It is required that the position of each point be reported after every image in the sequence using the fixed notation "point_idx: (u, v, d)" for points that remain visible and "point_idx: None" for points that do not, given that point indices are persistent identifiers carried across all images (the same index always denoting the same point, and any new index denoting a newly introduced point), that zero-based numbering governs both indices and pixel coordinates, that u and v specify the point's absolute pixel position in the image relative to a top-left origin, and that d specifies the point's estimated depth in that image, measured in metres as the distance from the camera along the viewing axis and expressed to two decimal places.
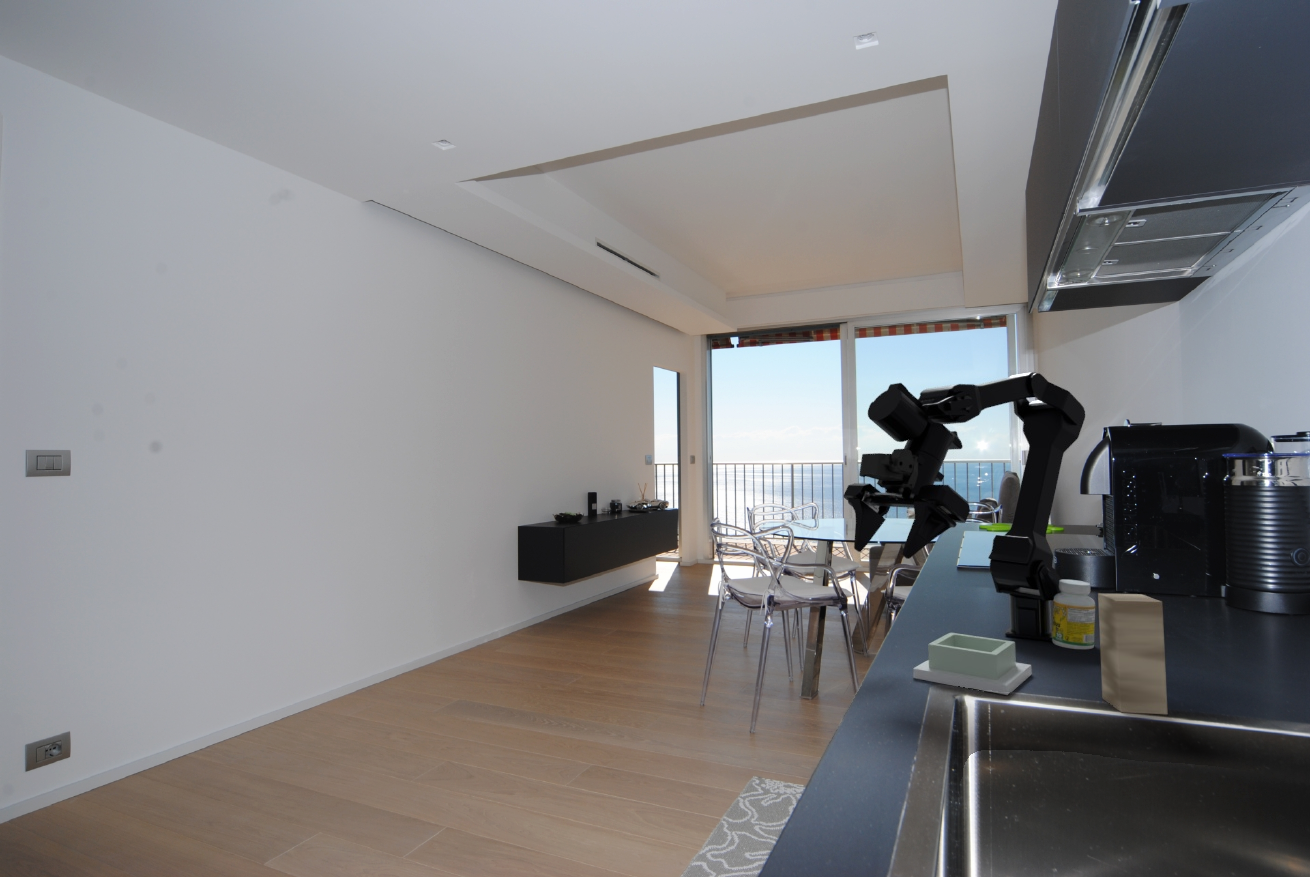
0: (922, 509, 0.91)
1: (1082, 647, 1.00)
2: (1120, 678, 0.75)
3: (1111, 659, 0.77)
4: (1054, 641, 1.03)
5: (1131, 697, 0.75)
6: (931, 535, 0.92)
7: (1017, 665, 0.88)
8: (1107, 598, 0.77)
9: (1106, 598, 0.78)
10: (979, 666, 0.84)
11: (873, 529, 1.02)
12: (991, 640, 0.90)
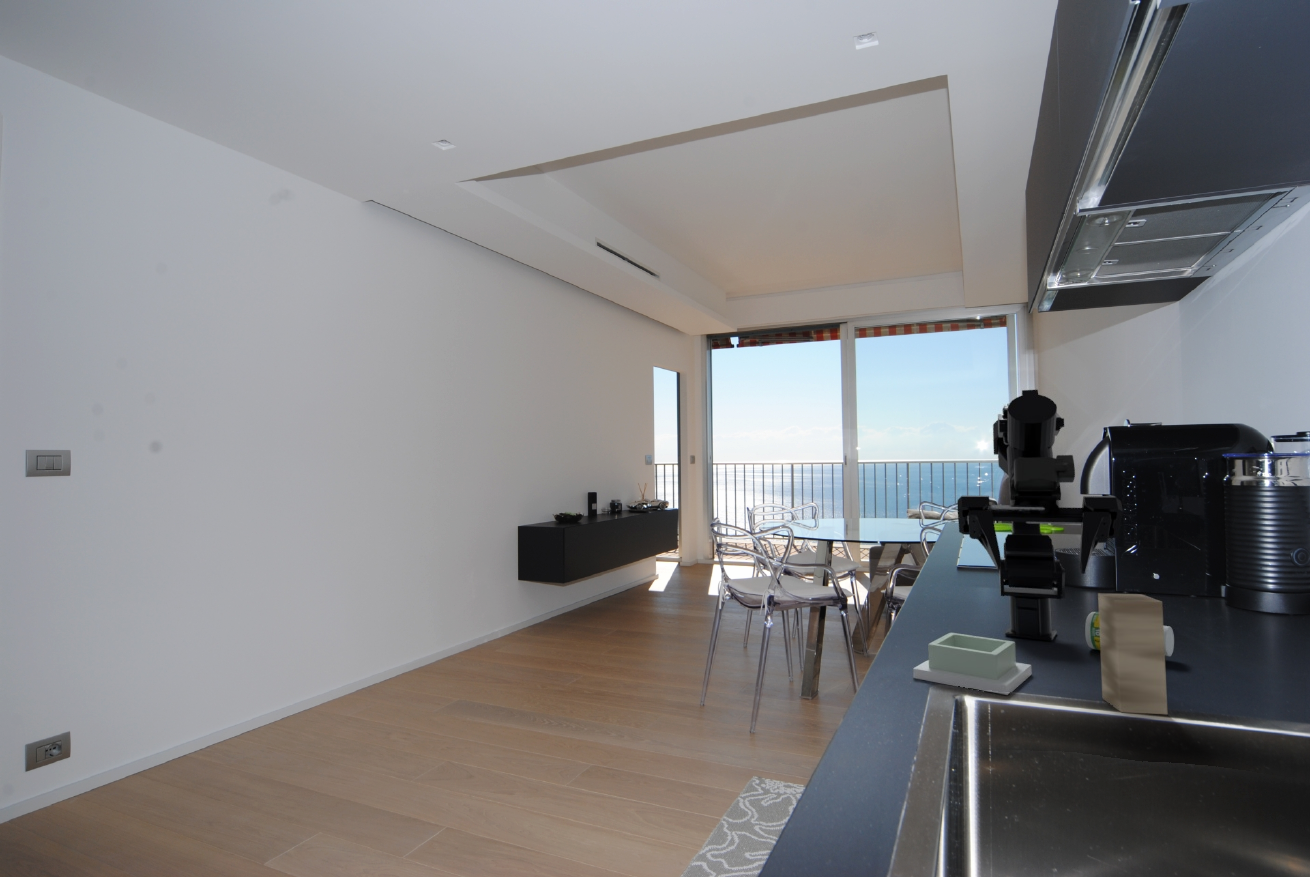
0: (1097, 520, 0.85)
1: (1093, 648, 1.00)
2: (1120, 678, 0.75)
3: (1111, 659, 0.77)
4: (1088, 624, 0.99)
5: (1131, 697, 0.75)
6: (1092, 549, 0.87)
7: (1017, 665, 0.88)
8: (1107, 598, 0.77)
9: (1106, 598, 0.78)
10: (979, 666, 0.84)
11: None
12: (991, 640, 0.90)
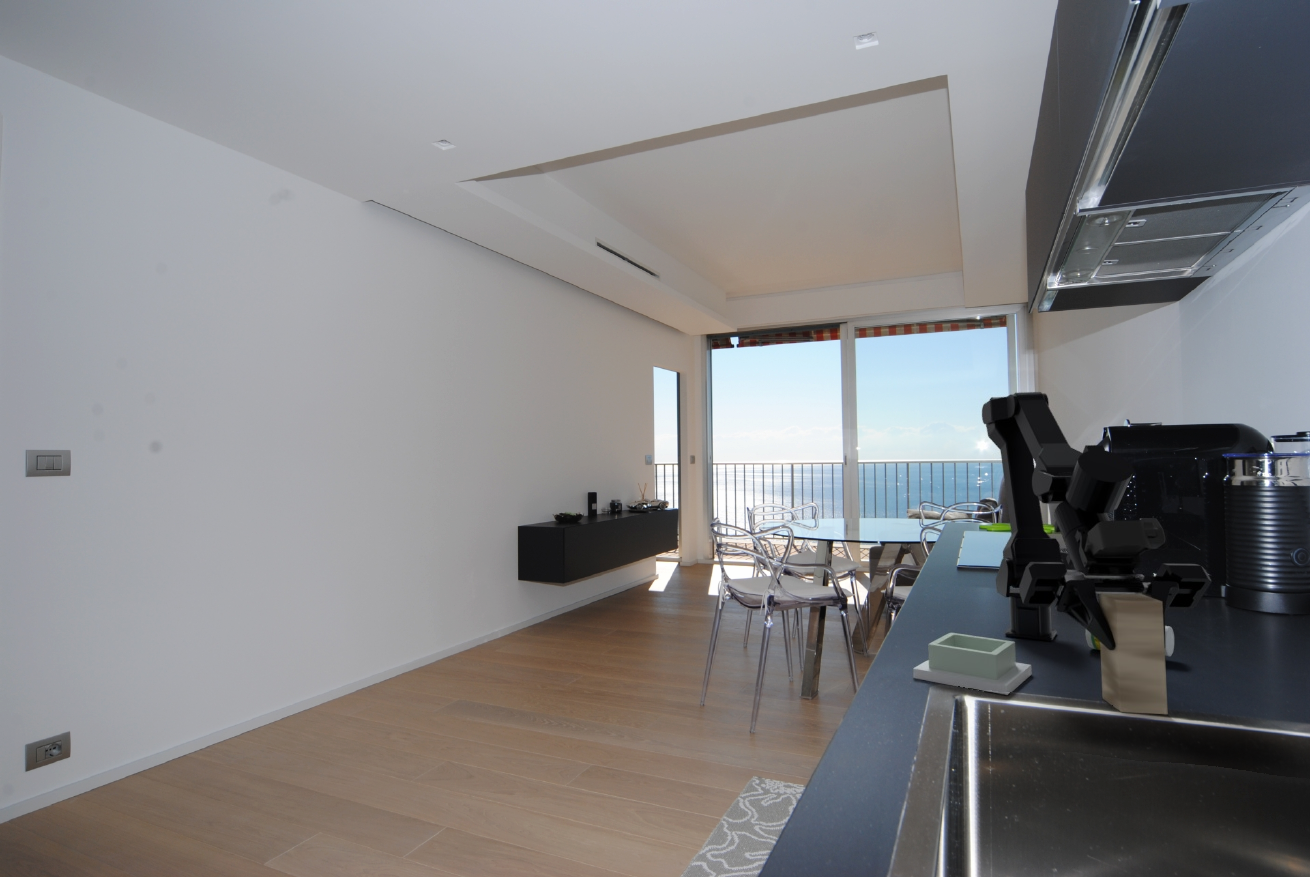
0: (1165, 591, 0.78)
1: (1093, 648, 1.00)
2: (1120, 677, 0.75)
3: (1111, 659, 0.77)
4: None
5: (1131, 697, 0.75)
6: None
7: (1017, 665, 0.88)
8: (1107, 598, 0.77)
9: (1106, 598, 0.78)
10: (979, 666, 0.84)
11: None
12: (991, 640, 0.90)
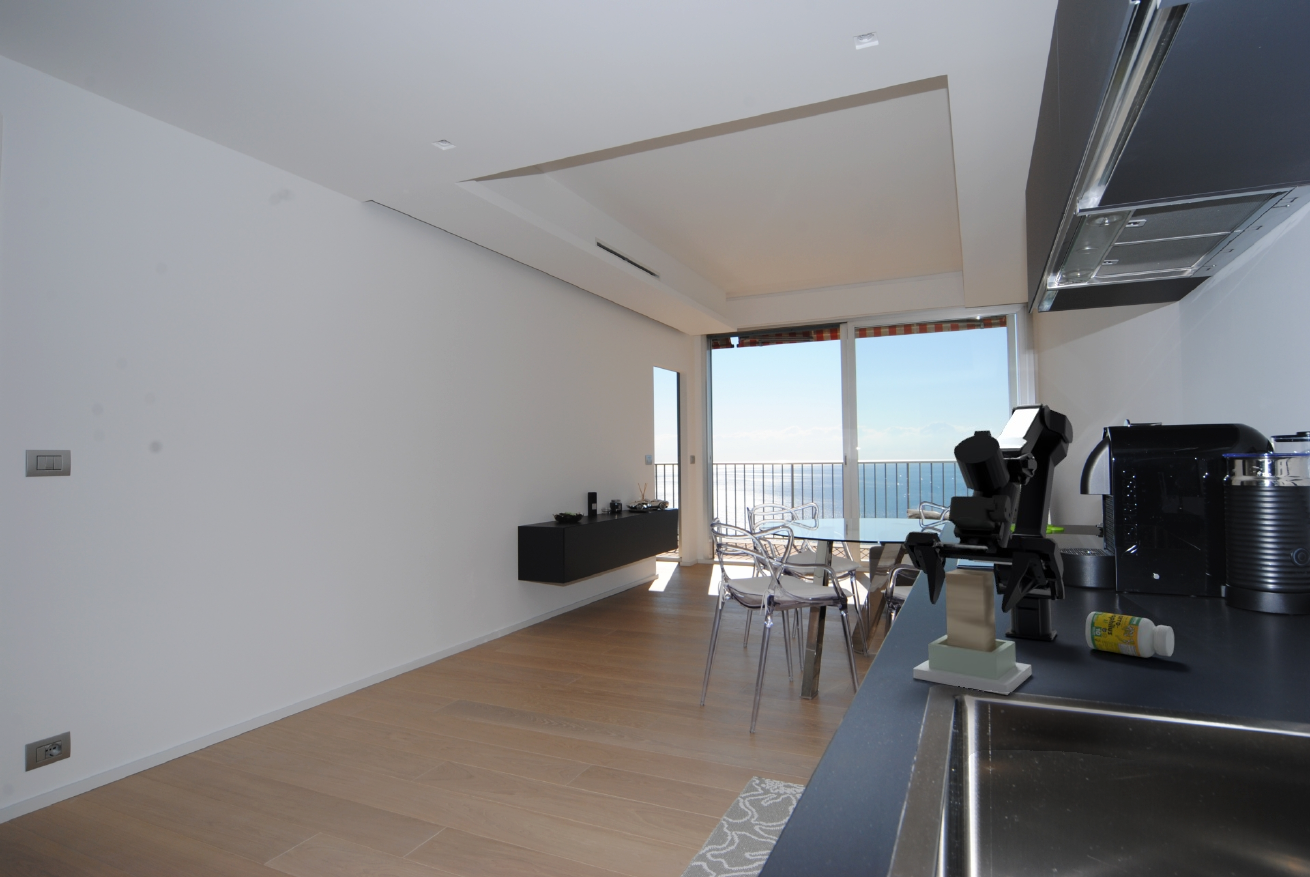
0: (1024, 561, 0.86)
1: (1093, 648, 1.00)
2: (947, 638, 0.88)
3: None
4: (1089, 623, 0.99)
5: None
6: (1024, 590, 0.87)
7: (1017, 665, 0.88)
8: (951, 572, 0.90)
9: (951, 572, 0.90)
10: (979, 666, 0.84)
11: (941, 582, 0.94)
12: None
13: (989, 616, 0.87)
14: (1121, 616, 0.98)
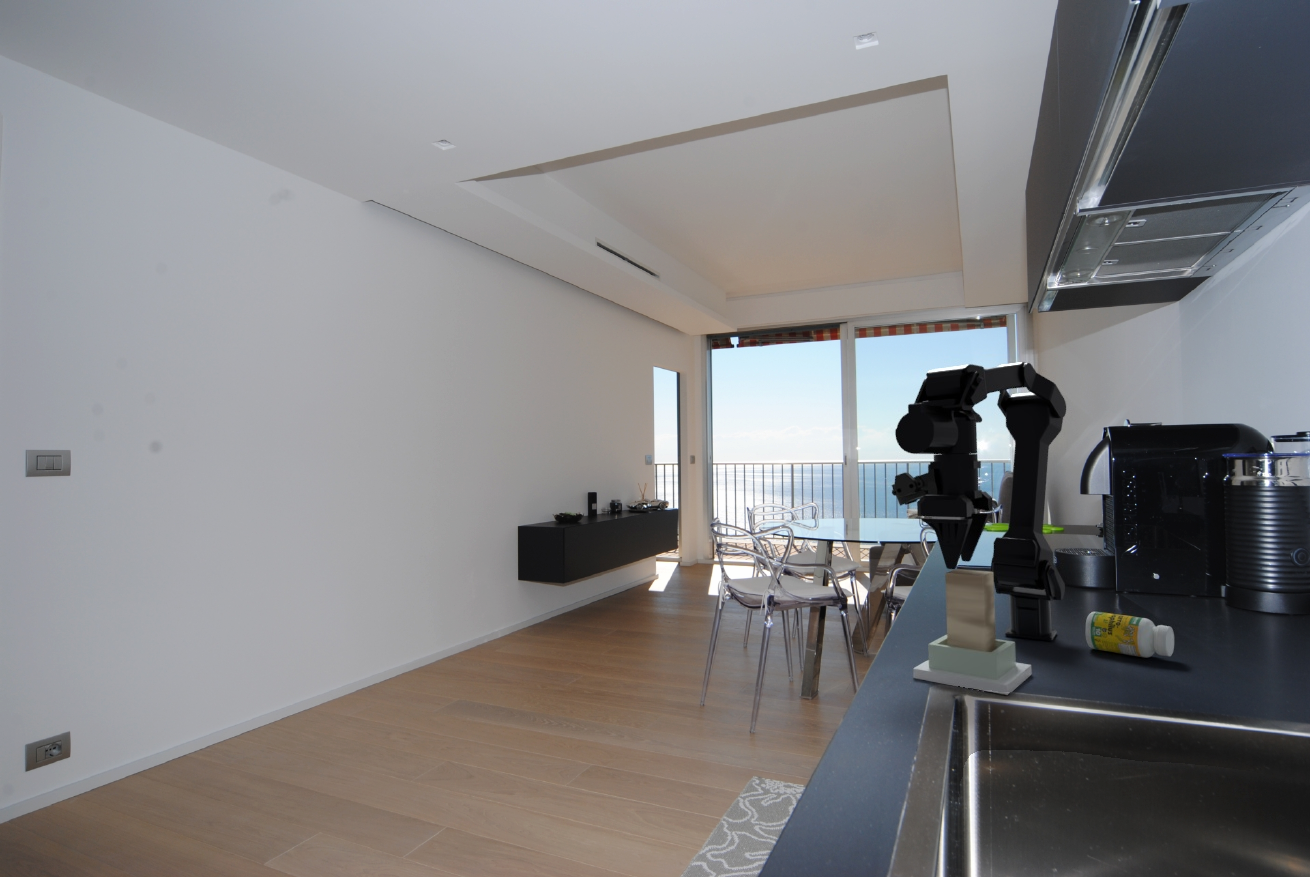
0: None
1: (1093, 648, 1.00)
2: (947, 638, 0.88)
3: None
4: (1089, 623, 0.99)
5: None
6: (958, 539, 0.92)
7: (1017, 665, 0.88)
8: (951, 572, 0.90)
9: (951, 572, 0.90)
10: (979, 666, 0.84)
11: (975, 532, 1.00)
12: None
13: (989, 616, 0.87)
14: (1121, 616, 0.98)
